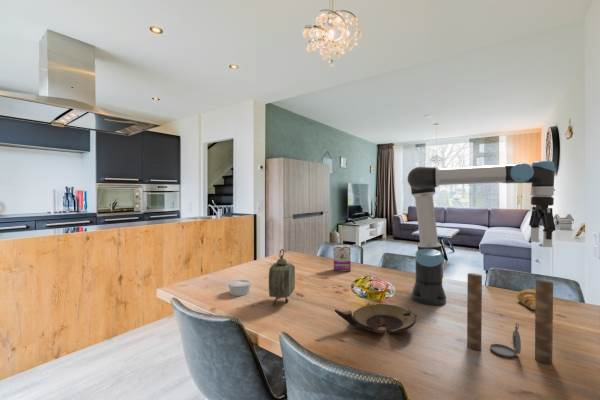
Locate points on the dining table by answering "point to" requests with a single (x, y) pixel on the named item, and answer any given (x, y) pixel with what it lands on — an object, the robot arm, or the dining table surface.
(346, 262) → the candy bar box
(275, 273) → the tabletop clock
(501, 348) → the pocket watch
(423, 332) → the dining table surface
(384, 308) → the oil lamp
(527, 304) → the croissant
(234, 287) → the ramekin
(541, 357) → the post right
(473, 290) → the post left
